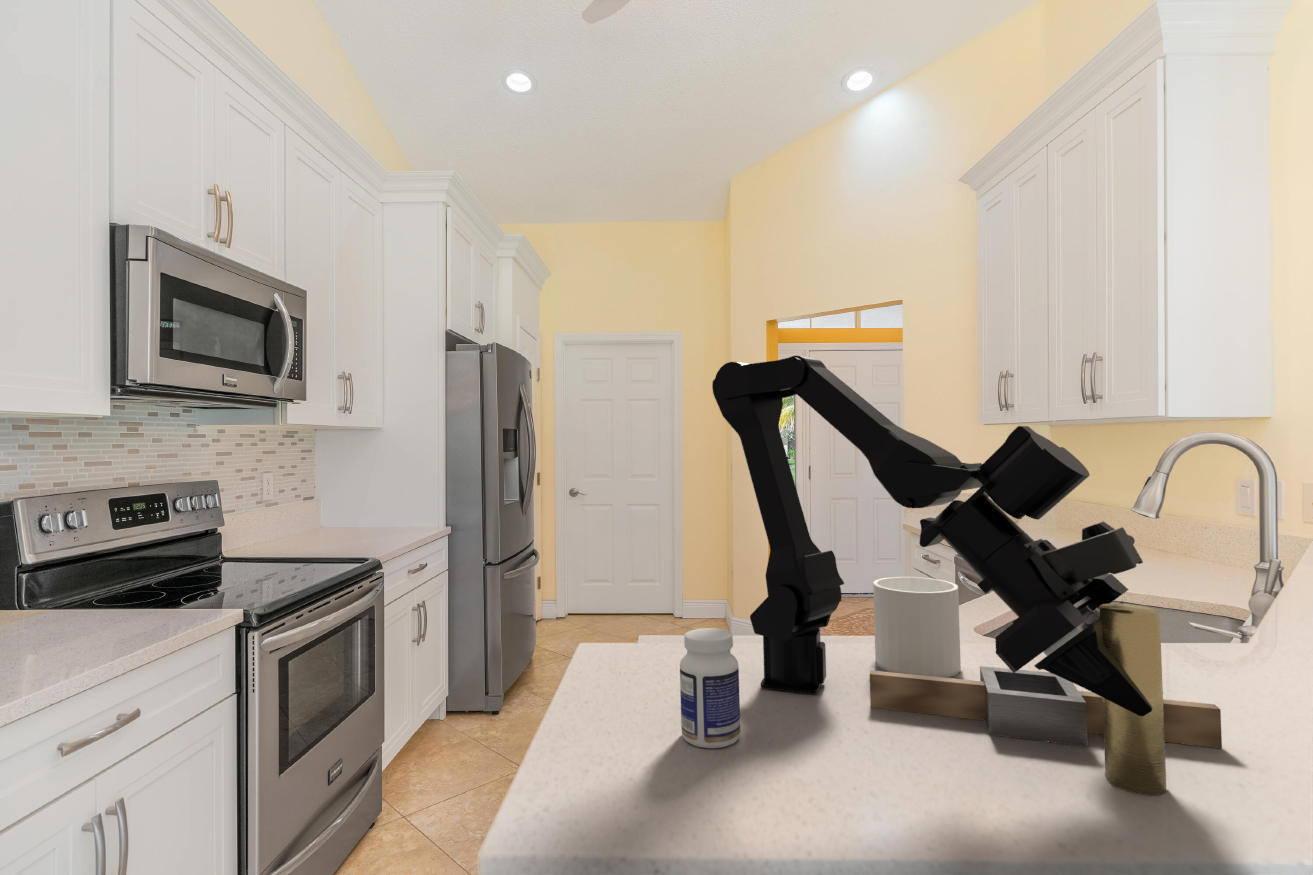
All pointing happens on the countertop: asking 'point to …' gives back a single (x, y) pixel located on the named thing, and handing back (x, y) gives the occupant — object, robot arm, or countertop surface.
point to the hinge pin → (1138, 651)
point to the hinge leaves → (969, 702)
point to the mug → (917, 626)
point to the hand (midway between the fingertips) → (1153, 705)
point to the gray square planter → (1033, 706)
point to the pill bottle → (709, 689)
